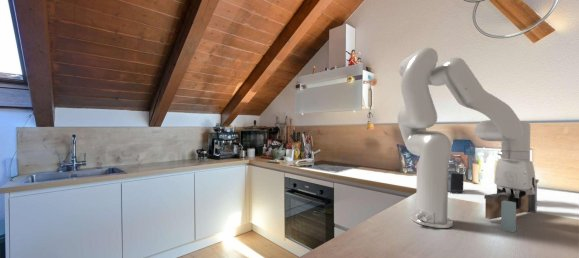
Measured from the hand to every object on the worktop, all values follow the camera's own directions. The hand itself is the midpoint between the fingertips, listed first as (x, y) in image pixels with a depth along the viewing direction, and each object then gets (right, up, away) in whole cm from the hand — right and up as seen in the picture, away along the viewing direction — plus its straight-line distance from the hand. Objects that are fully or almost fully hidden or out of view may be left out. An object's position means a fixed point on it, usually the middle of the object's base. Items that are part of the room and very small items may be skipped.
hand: (514, 208), depth 88 cm
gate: (+3, -4, +5) cm, 7 cm away
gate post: (+17, -5, +12) cm, 22 cm away
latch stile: (-8, -5, -7) cm, 12 cm away
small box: (+8, -6, +46) cm, 47 cm away
